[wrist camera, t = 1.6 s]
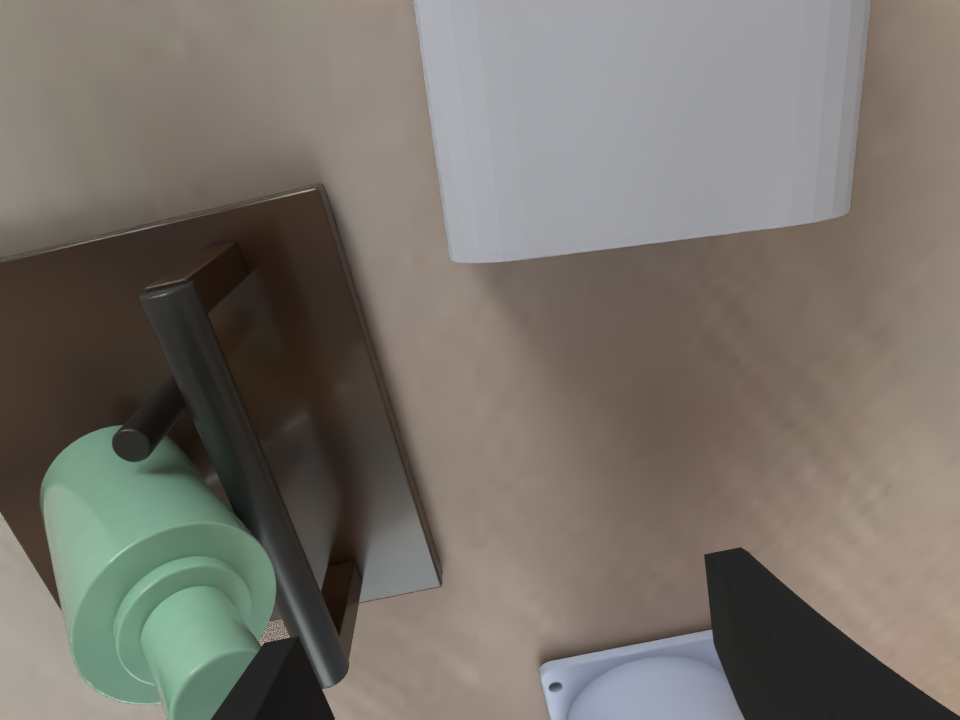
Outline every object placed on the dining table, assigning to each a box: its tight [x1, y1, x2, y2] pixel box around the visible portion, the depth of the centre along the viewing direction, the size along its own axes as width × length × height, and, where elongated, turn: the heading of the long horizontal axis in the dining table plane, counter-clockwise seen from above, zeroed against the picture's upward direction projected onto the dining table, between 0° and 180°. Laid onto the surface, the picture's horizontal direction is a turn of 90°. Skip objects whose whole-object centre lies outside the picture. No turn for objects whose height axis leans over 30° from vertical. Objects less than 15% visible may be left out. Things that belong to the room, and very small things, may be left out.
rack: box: [0, 184, 442, 689], centre depth 19 cm, size 14×13×5 cm
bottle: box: [39, 425, 276, 720], centre depth 16 cm, size 4×8×10 cm, turn 103°
